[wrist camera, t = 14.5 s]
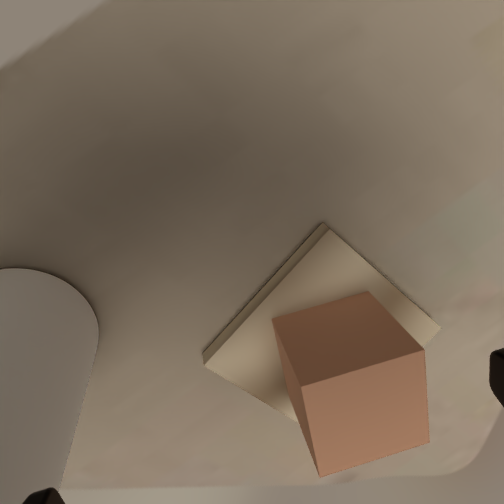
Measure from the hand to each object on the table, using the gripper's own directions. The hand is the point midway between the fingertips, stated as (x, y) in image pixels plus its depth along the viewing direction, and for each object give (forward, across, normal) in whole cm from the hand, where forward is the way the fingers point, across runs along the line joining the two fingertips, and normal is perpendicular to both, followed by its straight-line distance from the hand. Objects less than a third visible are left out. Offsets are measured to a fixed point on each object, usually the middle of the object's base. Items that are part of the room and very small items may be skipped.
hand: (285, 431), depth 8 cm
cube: (+11, -4, +7) cm, 14 cm away
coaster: (+12, -4, +7) cm, 14 cm away
